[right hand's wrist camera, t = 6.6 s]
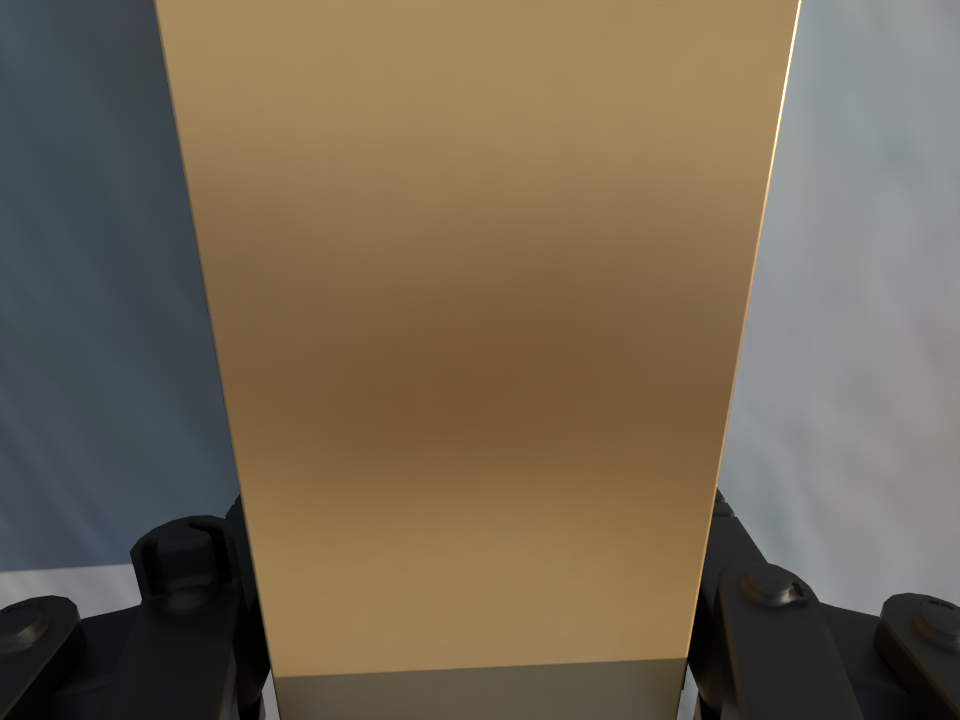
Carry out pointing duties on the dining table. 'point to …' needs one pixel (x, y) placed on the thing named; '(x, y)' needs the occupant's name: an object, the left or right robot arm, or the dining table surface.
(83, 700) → the right robot arm
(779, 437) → the dining table surface
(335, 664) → the post
